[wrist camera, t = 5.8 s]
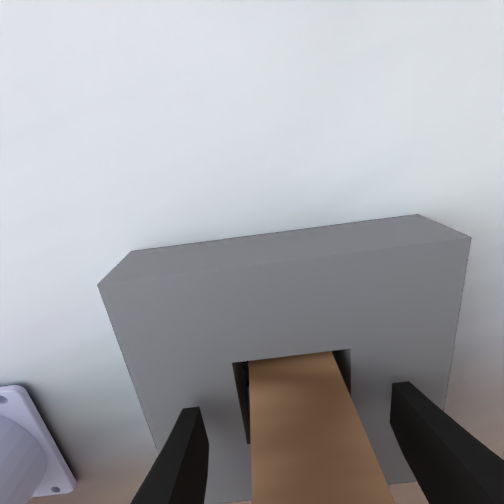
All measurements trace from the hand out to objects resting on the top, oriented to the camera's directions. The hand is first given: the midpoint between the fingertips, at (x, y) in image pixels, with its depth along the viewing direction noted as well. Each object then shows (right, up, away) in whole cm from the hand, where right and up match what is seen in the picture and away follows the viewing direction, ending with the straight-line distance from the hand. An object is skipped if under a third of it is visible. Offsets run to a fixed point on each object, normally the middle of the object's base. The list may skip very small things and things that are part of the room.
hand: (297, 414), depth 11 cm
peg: (0, +2, +3) cm, 4 cm away
